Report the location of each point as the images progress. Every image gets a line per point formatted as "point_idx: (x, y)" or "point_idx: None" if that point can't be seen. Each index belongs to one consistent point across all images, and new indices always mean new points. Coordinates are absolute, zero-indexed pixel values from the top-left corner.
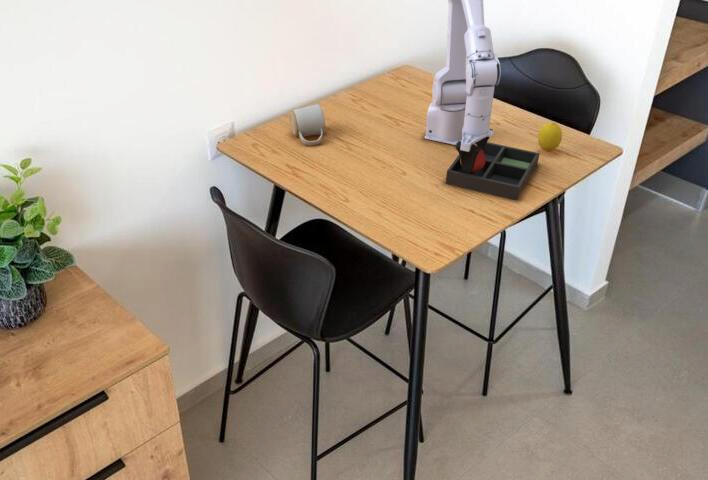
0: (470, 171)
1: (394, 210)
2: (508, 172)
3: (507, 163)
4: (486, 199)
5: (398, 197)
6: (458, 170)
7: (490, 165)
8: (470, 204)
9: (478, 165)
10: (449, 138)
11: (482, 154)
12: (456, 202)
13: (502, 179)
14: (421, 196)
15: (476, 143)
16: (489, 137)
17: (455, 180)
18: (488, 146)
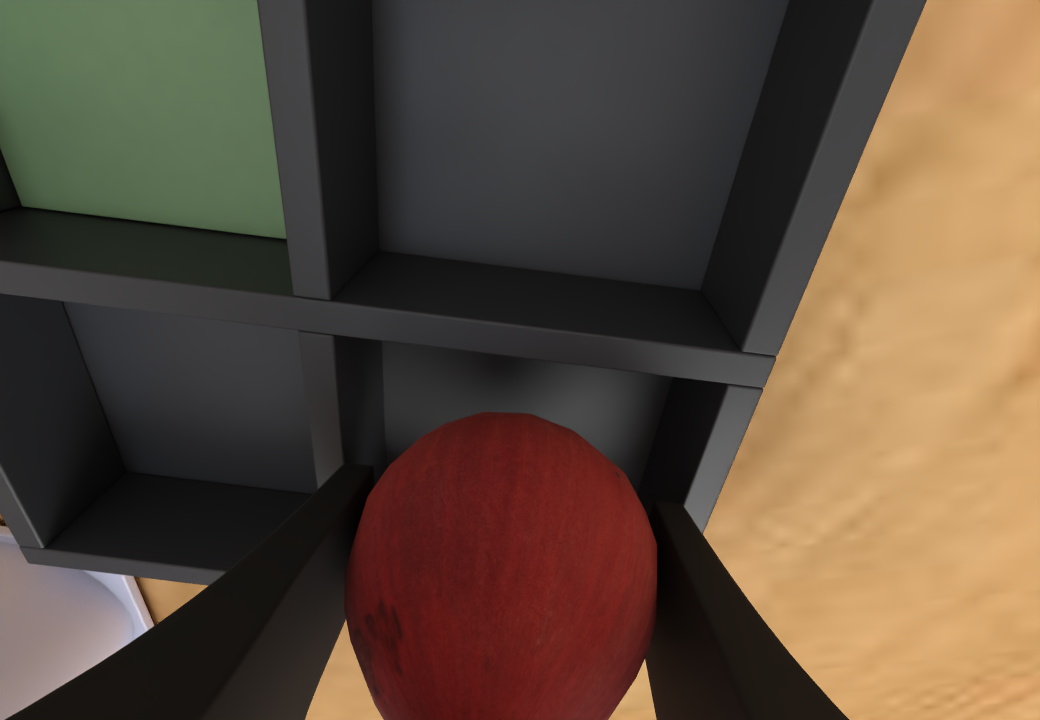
0: (687, 518)
1: (996, 695)
2: (352, 80)
3: (107, 143)
4: (855, 222)
5: (847, 696)
6: None
7: (419, 339)
8: (949, 343)
9: (631, 503)
10: (100, 618)
11: (524, 586)
12: (910, 442)
13: (453, 132)
14: (829, 620)
15: (285, 697)
16: (65, 706)
17: None
18: (8, 405)
